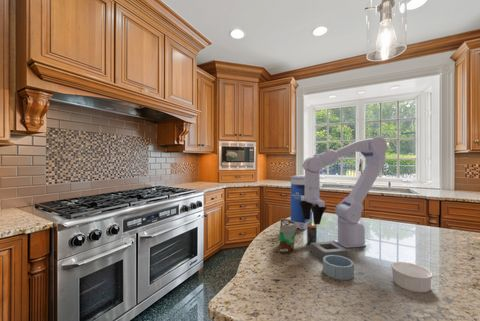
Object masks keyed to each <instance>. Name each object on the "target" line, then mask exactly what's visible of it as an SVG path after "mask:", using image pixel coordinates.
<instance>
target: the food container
mask: <svg viewBox="0 0 480 321" xmlns="http://www.w3.org/2000/svg"><path fill="white" fill-rule="evenodd" d="M297 230H298V229H297V226H296V224H295V222H294V221H292V220H291V219H288V218H280V226H279V254H283V255H284V254H290V253H292V252H294V249H295V239H296V238H295V237H296V231H297Z"/></svg>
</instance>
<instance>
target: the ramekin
mask: <svg viewBox="0 0 480 321" xmlns="http://www.w3.org/2000/svg"><path fill="white" fill-rule="evenodd" d="M390 267H391V270H392V280H393V282H394V283H395V284H396V285H397V286H398V287H401V288H402V289H404V290H407V291H410V292H414V293H420V294H421V293H428V292H430V290H431V288H432V285H431V284H432V278H433V272H432V271H431V270H429V269H428V268H426V267H425V266H421V265H419V264H415V263H412V262H406V261H395V262H392V263H391V266H390Z"/></svg>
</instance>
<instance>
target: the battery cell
mask: <svg viewBox="0 0 480 321" xmlns="http://www.w3.org/2000/svg"><path fill="white" fill-rule="evenodd" d="M317 225H318V224H314V222H312V223H308V224H307V228H306V244H307V245H308V246H310V243H316V242H318V241H317V239H318V238H317V234H318V232H317V229H318V227H317Z"/></svg>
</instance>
